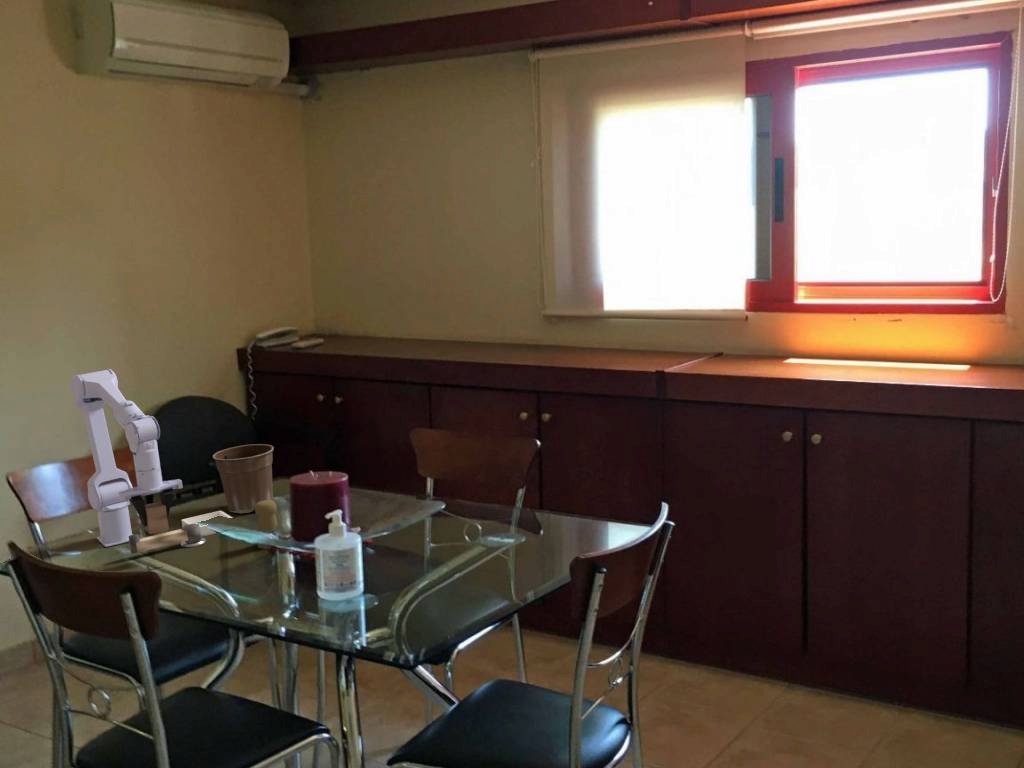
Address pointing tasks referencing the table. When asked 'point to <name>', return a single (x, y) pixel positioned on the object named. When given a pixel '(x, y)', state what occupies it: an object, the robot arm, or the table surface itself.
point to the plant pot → (246, 475)
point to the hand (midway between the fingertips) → (155, 523)
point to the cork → (266, 516)
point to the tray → (204, 517)
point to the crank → (165, 538)
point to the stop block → (156, 518)
